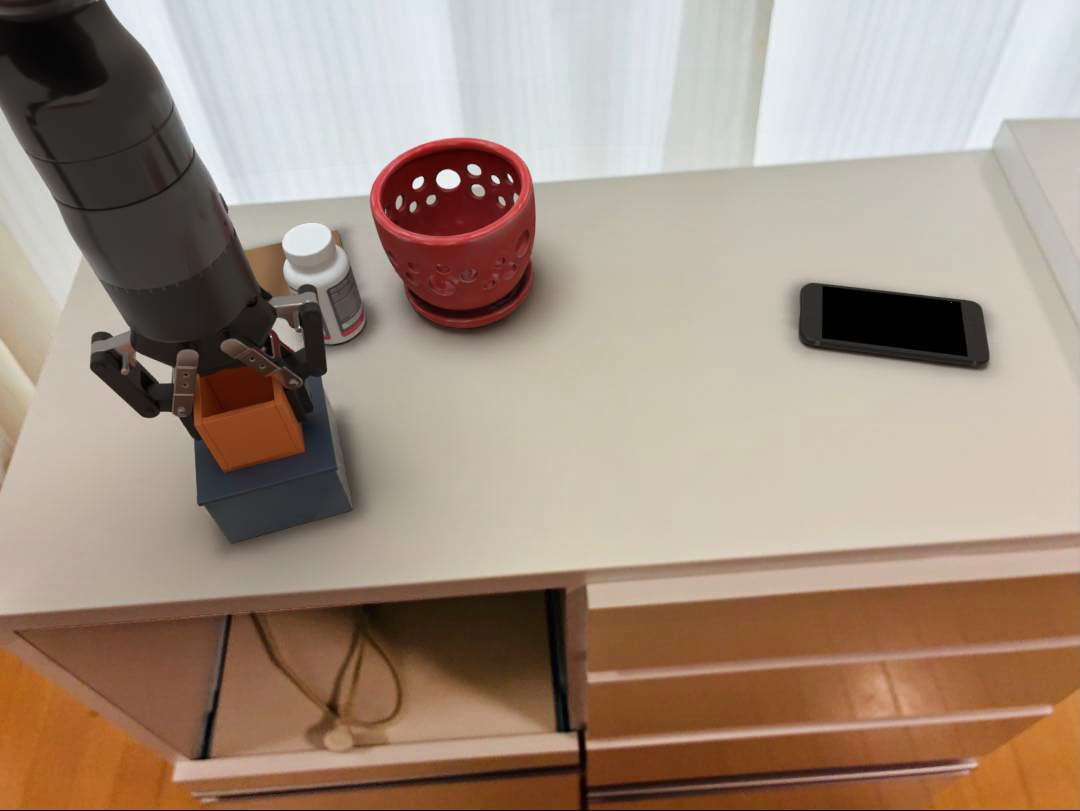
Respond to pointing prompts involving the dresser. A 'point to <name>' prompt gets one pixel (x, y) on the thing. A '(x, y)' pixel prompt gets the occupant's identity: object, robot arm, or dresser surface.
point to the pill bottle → (324, 279)
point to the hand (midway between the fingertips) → (257, 422)
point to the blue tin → (279, 481)
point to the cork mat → (273, 266)
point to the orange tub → (245, 418)
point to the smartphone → (893, 324)
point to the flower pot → (458, 230)
